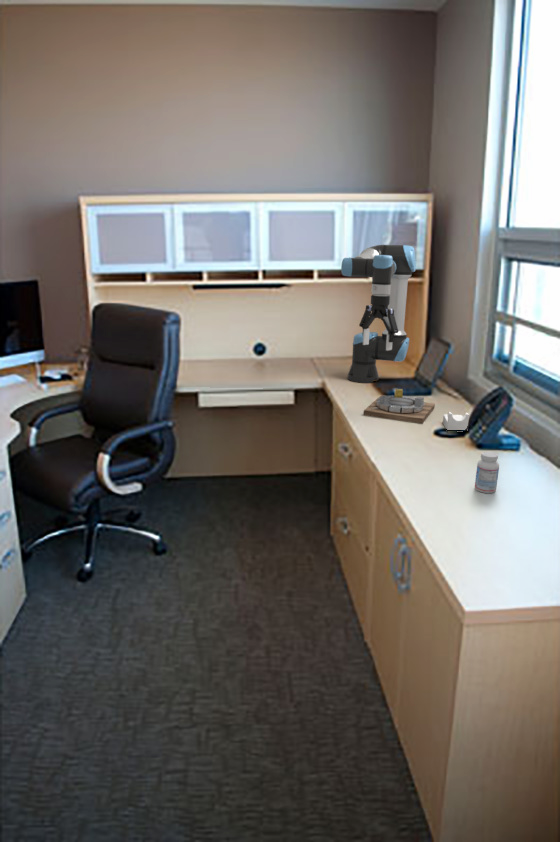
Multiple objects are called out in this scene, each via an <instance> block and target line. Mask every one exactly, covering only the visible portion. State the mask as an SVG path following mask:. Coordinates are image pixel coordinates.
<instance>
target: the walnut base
mask: <svg viewBox="0 0 560 842" xmlns="http://www.w3.org/2000/svg"><path fill="white" fill-rule="evenodd" d="M378 398H380V396H378ZM378 398H376V399H375V400H374V401H373V402H372V403H370V404H369V405H368V406H367V407H366V408H364V410H363V416H368V417H372V418H374V417H375V418H378V419H379V418H380V419H387V420H394V421H401V422H402V421H403V422H409V423H417V424H424V423H425V422H426V420H427V419H428V417H429V416H430V415H431V413H432V412H433V411H434V409H435V406H436V404H435V403H433V402H425V401H424V403H425V406H424V409H423V410H422V411H419V412H415V413H413V412H412V413H401V412H400V413H397V412H389V411H386V410H383V409H380V408H379V407H378V406H377V405H376V404H377V399H378ZM389 404H391V405H396V406H412V405H413V401H412V400H409V399H405V398H392V399H390V401H389Z"/></svg>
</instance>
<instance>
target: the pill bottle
mask: <svg viewBox="0 0 560 842" xmlns="http://www.w3.org/2000/svg"><path fill="white" fill-rule="evenodd" d="M480 453H481V454H480V460H478V461H477V463H476V464H477V466H476V473H475V480H474V489H475V490H476V491H478V492H480V493H484V494H492V493H495V492H496V491H497V486H498V480H499V479H498V478H499V471H500V463H499V462H498V459H499V458H498V457H499V454H497V453H496V452H493V451H488V450H487V451H486V450H485V451H482V452H480Z"/></svg>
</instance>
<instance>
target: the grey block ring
mask: <svg viewBox="0 0 560 842" xmlns="http://www.w3.org/2000/svg"><path fill="white" fill-rule="evenodd" d="M403 393H404V391H403V388H395V389H394V395H380V396H379V397H380V398H379V397H378V399H377V398H376V399H377V404H376V405H377V406H378V407H379V408H380V409H383V410H386V411H389V412H397V413H400V412H401V413H412V412H413V413H415V412H419V411H422V410H423V409H424V406H425V403H424V402H425V401H424V400H425V397H424V396H423V397H422V396H416V397H412V396H406V395H403ZM392 398H405V399H409V400H412V401H413V405H412V406H396V405H391V404H389V401H390V399H392Z"/></svg>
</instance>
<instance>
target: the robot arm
mask: <svg viewBox="0 0 560 842" xmlns="http://www.w3.org/2000/svg"><path fill="white" fill-rule="evenodd" d="M416 261H417V260H416V250H415V248H414V246H411V245H405V244H399V245H398V244H377V245H374V246H370V247H367V248H365V249H363V250H362V251H361V253H360V254H358V255H357V256H355V257H349V256H348V257H344V258H343V259H342V260H341V267H340V269H341V270H340V271H341V275H342V276H344V277H356V278H357V277H358V278H359V277H361V278H371V289H370V290H371V296H370V304H369V305H368V304H367V305H365V310H364V312H363V314H362V318H361V320H360V322H359V325H358V326H359V327H361V328H362V332H360V333H357V334H355V335H354V336H353V342H352V359H351V366H350V368H349V371H348V373H347V380H348V381H351V382H355V383H363V384H365V383H367V384H369V383H374V382H373V380H377V379H378V380H379V372H378V369H377V361H387V362H394V363H395V362H403V361H404V360H405V359H406V357H407V353H408V350H409V346H410V338H409V337H407V335H408V334H407V332H406V331H405V320H406V319H405V317H406V306H407V294H408V284H409V283H408V282H409V279H410V278H411V277H412V274H413V273H414V272H416V269H417V265H416V264H417V262H416ZM375 319H378V320H381V321H382V323H383V324H384V327H385V329H384V330H383V331H382V333H381V335H379V334H378V332H377V331H370V330H371V329H370V326H371V325H372V324H373V321H374V320H375Z"/></svg>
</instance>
